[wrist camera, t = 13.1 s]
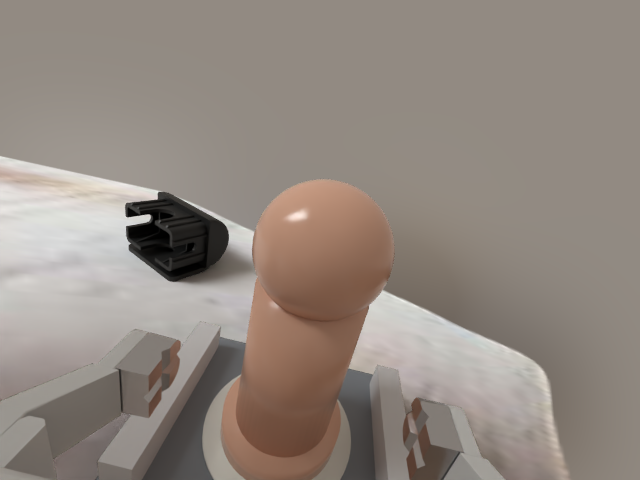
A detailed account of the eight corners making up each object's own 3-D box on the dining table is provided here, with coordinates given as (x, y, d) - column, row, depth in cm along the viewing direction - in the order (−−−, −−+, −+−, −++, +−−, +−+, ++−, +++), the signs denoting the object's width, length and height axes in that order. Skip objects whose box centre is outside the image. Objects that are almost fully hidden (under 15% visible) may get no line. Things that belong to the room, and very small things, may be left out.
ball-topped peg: (228, 509, 15) (282, 205, 8) (215, 386, 20) (242, 152, 14) (354, 467, 18) (460, 220, 11) (312, 370, 23) (368, 171, 17)
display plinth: (78, 533, 14) (69, 483, 13) (197, 350, 25) (200, 312, 24) (411, 617, 14) (444, 577, 13) (385, 397, 25) (401, 361, 24)
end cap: (226, 266, 38) (232, 216, 36) (173, 285, 33) (175, 227, 30) (178, 235, 43) (180, 189, 40) (124, 247, 37) (122, 194, 34)
